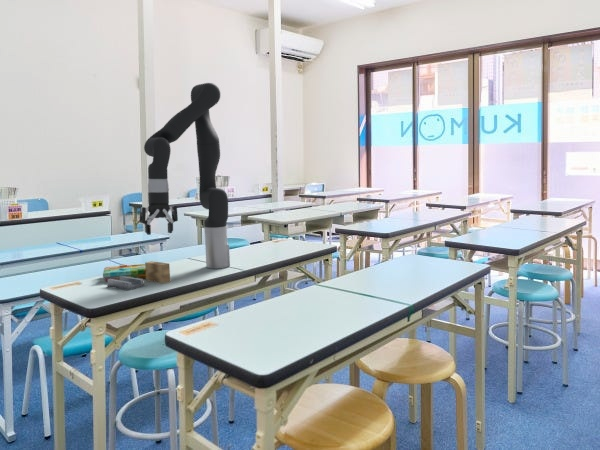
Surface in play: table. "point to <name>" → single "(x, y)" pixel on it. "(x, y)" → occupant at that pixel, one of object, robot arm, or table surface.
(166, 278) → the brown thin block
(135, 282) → the sill track
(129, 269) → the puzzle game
